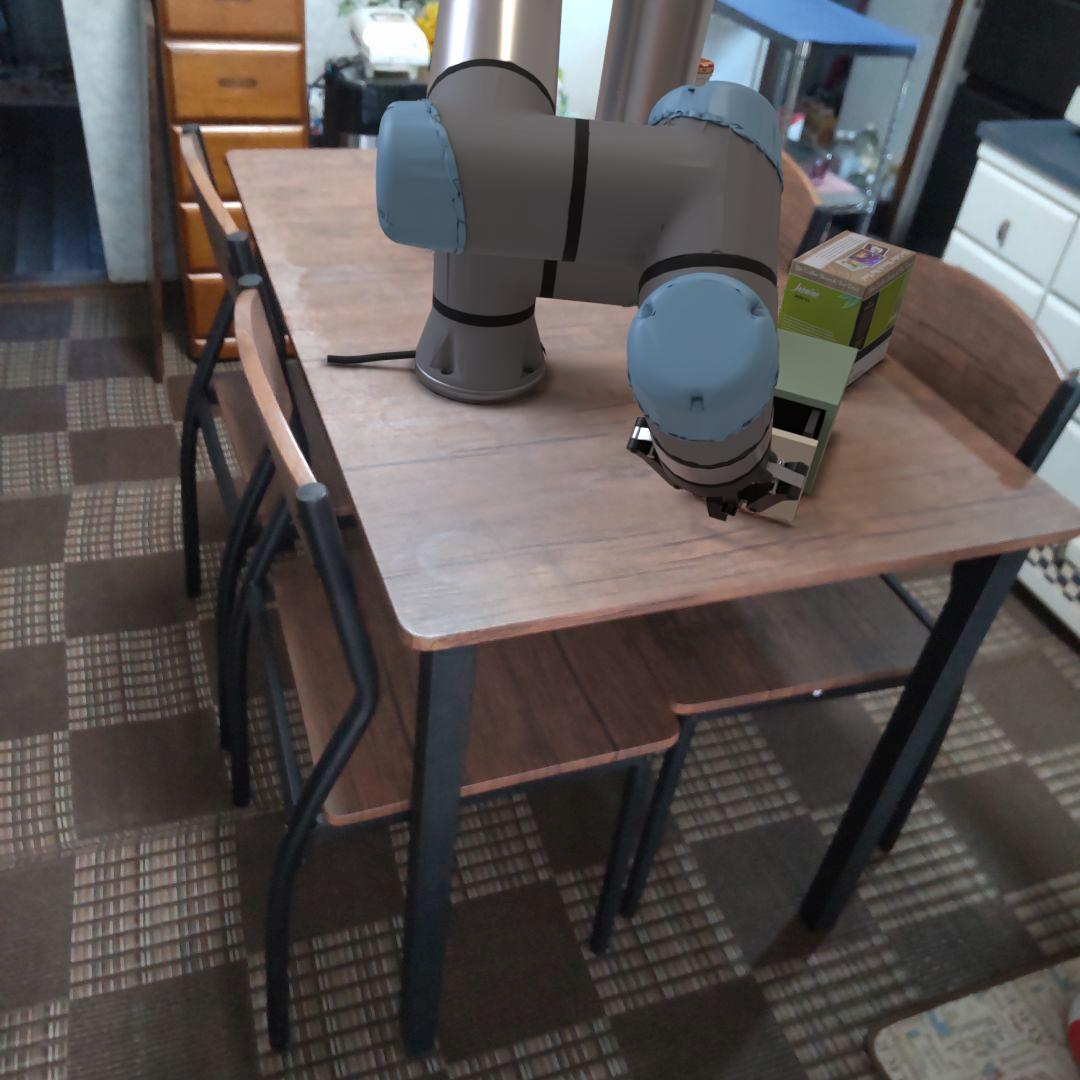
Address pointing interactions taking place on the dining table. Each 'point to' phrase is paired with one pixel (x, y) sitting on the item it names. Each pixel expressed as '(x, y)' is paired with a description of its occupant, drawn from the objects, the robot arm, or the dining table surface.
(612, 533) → the dining table surface
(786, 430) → the cabinet drawer
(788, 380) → the mini drawer cabinet
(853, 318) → the tea box
